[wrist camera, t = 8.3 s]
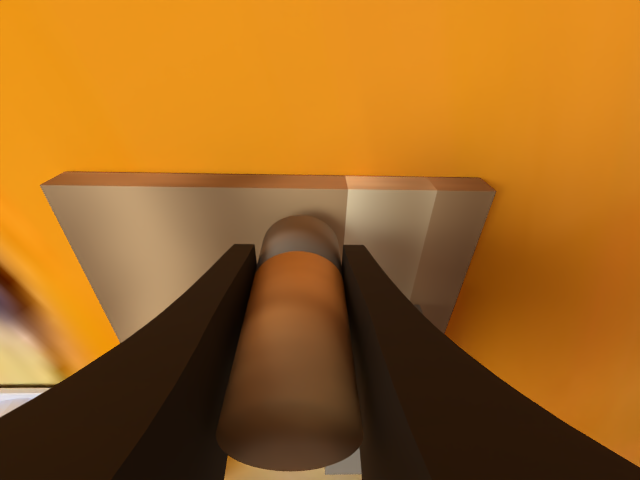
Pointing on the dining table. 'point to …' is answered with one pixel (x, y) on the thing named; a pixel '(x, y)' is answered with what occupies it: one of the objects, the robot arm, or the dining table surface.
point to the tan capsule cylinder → (293, 357)
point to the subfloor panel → (261, 230)
